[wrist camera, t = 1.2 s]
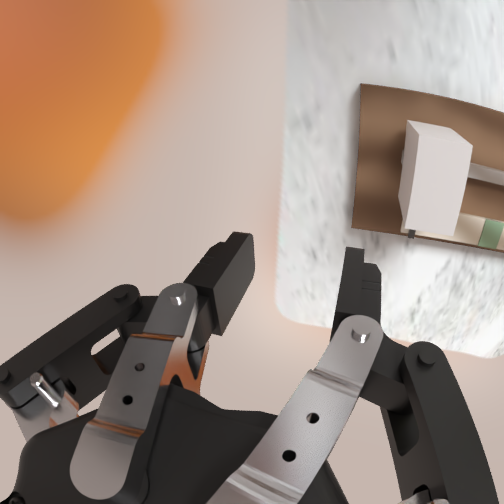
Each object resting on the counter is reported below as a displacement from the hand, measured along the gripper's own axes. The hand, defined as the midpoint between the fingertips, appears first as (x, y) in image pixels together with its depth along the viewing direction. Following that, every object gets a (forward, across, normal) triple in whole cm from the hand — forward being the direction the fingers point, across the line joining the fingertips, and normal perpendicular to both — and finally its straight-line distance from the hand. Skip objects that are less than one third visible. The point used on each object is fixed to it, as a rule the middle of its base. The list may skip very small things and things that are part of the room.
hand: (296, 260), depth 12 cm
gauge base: (+19, -17, +1) cm, 26 cm away
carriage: (+17, -8, +2) cm, 19 cm away
